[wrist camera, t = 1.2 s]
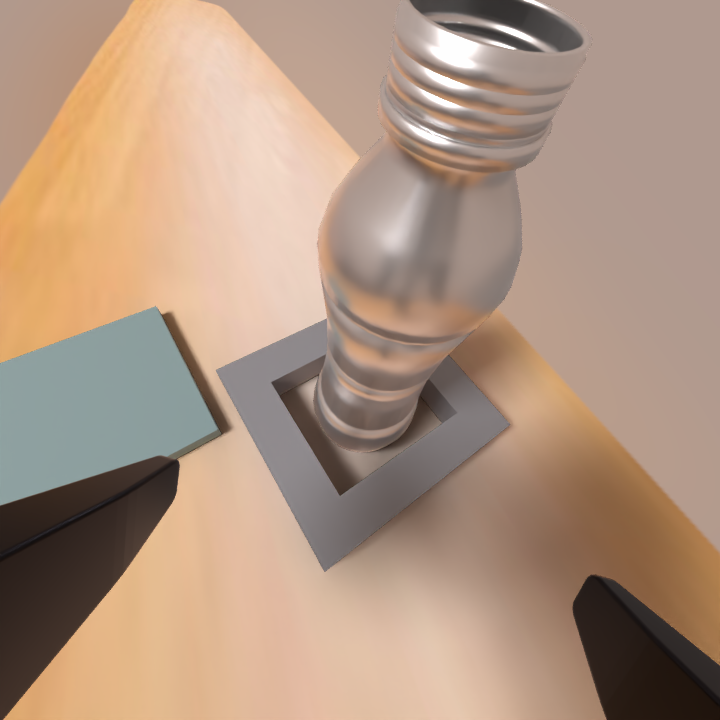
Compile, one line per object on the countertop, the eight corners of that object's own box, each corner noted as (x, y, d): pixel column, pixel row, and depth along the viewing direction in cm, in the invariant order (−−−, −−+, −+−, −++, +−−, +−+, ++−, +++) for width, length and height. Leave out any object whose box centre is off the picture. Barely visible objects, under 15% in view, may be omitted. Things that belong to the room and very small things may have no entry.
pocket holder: (323, 569, 18) (324, 572, 16) (224, 387, 23) (215, 370, 21) (492, 436, 23) (510, 424, 21) (384, 309, 28) (390, 289, 26)
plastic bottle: (294, 430, 22) (224, -5, 5) (343, 355, 25) (409, -59, 8) (380, 479, 21) (679, 165, 4) (419, 395, 24) (676, 25, 7)
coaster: (16, 545, 17) (0, 545, 16) (-18, 382, 21) (-32, 375, 20) (221, 434, 21) (217, 429, 20) (161, 314, 25) (156, 306, 24)
